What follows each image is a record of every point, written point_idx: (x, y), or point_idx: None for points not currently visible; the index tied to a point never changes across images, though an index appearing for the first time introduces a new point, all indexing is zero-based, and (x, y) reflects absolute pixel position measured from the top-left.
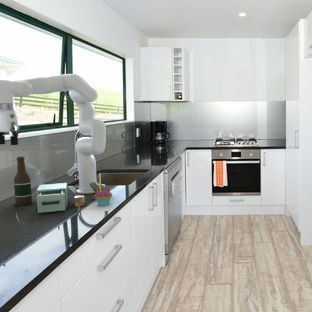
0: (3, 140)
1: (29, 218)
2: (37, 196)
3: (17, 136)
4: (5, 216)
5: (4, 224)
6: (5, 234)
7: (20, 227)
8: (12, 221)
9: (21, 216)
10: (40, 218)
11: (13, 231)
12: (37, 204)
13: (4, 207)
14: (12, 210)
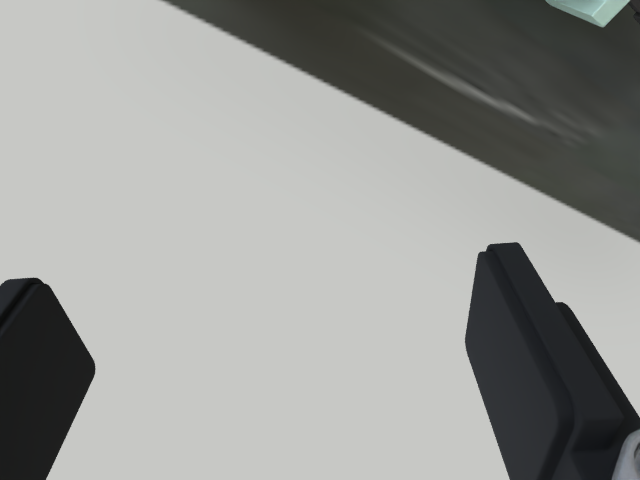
0: (21, 363)
1: (553, 72)
2: (606, 23)
3: (619, 412)
4: (399, 116)
5: (518, 181)
6: (632, 235)
7: (624, 169)
8: (513, 142)
9: (478, 73)
10: (615, 40)
11: (635, 207)
12: (574, 14)
13: (189, 14)
14: (309, 28)
